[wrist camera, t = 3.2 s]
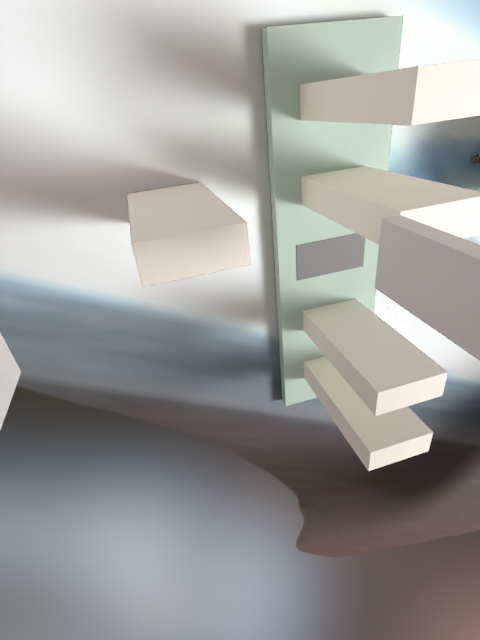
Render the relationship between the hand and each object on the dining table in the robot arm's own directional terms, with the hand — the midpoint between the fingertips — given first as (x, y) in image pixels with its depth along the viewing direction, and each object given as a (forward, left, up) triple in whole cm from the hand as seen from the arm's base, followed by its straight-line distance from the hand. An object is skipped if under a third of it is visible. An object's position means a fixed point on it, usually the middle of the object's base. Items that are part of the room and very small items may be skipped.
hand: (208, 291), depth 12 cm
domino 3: (-1, -12, -14) cm, 19 cm away
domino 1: (0, 0, -15) cm, 15 cm away
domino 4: (-12, -12, -14) cm, 22 cm away
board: (-6, -12, -15) cm, 20 cm away
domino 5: (-17, -12, -14) cm, 25 cm away
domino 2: (+5, -12, -14) cm, 19 cm away
